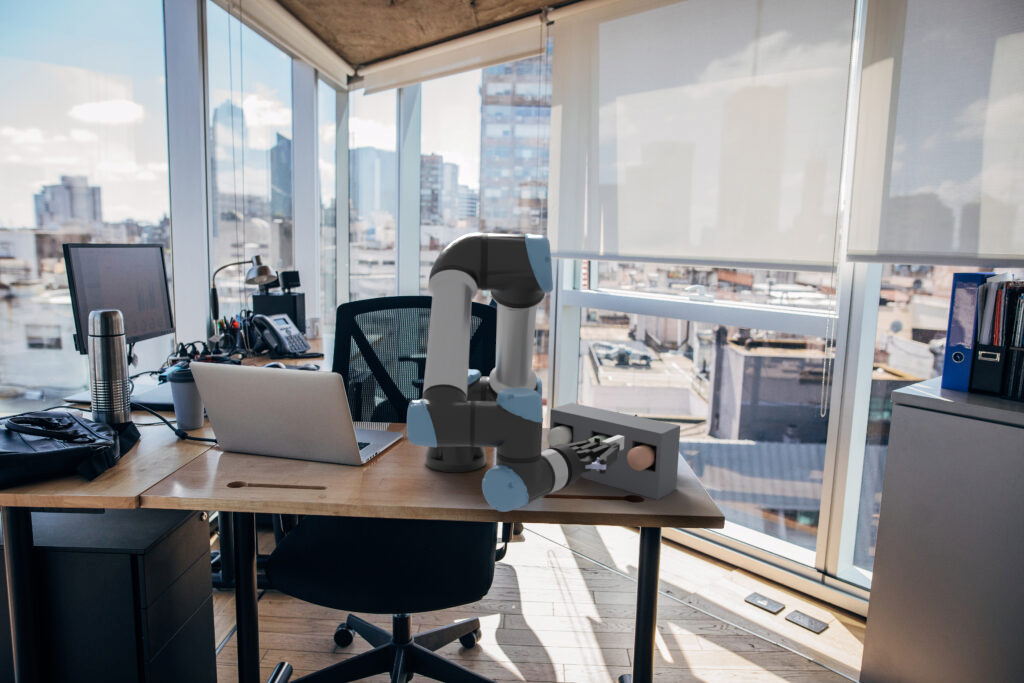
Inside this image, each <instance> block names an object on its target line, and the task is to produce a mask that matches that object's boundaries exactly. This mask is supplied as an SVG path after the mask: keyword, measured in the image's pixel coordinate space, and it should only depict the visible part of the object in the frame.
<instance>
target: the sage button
mask: <svg viewBox="0 0 1024 683" xmlns="http://www.w3.org/2000/svg"><path fill="white" fill-rule="evenodd" d="M595 438H600V442H601V441H603V440H606V439H609V438H610V437H608V436H607V435H605V434H600V435H598V436H595V437H592V438H590V439H588V440H589V441H591V443H592V442H594V439H595Z"/></svg>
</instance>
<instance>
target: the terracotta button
mask: <svg viewBox="0 0 1024 683" xmlns="http://www.w3.org/2000/svg"><path fill="white" fill-rule="evenodd" d="M627 461H628V463H629V465H630V466H631V467H632V468H633V469H634V470H637V471H641V470H644V469H646V468H648V467H649V466H651V465H653V464H654V463H655V461H656V453H655V451H654V449H653V448H652V447H651V446H649V445H647V444H642V445H640V446H637V447H635V448H633V449H631V450H630V451H629V452H628V455H627Z"/></svg>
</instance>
